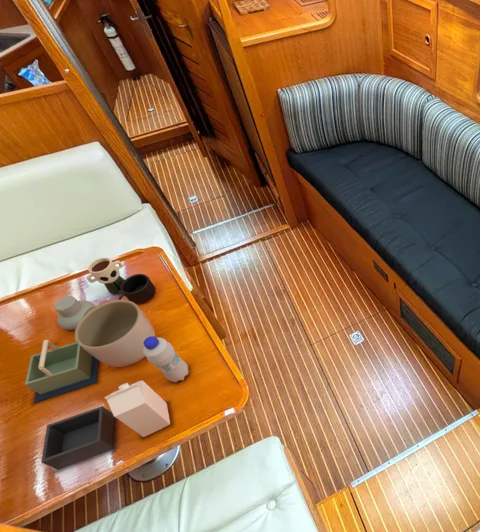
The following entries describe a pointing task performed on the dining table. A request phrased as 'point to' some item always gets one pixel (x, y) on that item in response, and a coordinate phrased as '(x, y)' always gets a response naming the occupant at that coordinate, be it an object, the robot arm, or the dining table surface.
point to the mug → (138, 289)
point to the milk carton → (139, 408)
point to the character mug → (106, 274)
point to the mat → (73, 386)
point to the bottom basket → (78, 438)
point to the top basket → (58, 367)
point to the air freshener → (71, 311)
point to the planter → (114, 333)
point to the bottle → (165, 358)
